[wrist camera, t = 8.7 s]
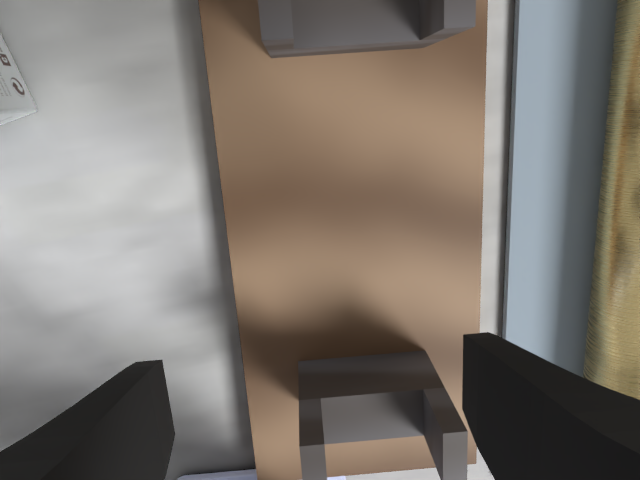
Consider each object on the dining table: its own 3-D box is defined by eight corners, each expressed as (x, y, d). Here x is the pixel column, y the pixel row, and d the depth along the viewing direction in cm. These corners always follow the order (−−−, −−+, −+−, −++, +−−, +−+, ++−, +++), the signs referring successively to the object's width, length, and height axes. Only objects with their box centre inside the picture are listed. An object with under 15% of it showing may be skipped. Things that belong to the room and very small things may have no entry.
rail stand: (467, 445, 24) (529, 569, 17) (259, 464, 23) (246, 597, 17) (478, -137, 17) (583, -274, 11) (189, -121, 17) (126, -252, 11)
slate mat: (674, 460, 25) (680, 466, 24) (496, 477, 24) (500, 483, 24) (782, -223, 17) (793, -230, 16) (523, -209, 17) (528, -217, 16)
